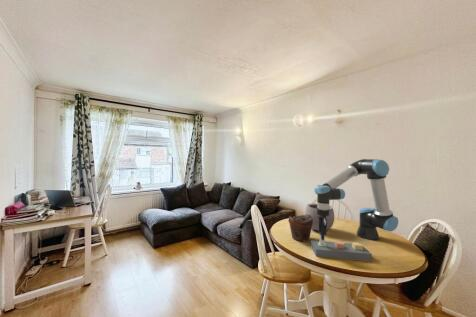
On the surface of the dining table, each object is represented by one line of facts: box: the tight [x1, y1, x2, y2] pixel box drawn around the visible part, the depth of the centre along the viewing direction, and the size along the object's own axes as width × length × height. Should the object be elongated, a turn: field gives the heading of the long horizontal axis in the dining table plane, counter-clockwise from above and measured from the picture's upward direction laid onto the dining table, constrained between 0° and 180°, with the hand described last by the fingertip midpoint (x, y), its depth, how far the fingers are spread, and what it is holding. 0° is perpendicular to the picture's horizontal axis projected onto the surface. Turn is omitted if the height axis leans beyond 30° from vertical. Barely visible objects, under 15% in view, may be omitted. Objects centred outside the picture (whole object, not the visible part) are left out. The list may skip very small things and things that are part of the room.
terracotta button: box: [333, 240, 345, 249], centre depth 134 cm, size 5×5×4 cm
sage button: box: [317, 243, 327, 247], centre depth 136 cm, size 5×5×4 cm
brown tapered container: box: [287, 214, 313, 242], centre depth 158 cm, size 18×20×18 cm
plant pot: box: [304, 203, 335, 232], centre depth 178 cm, size 24×24×30 cm
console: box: [310, 240, 373, 262], centre depth 134 cm, size 33×14×4 cm, turn 82°
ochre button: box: [351, 241, 364, 250], centre depth 133 cm, size 5×5×4 cm
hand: (321, 243), depth 136 cm, fingers closed
